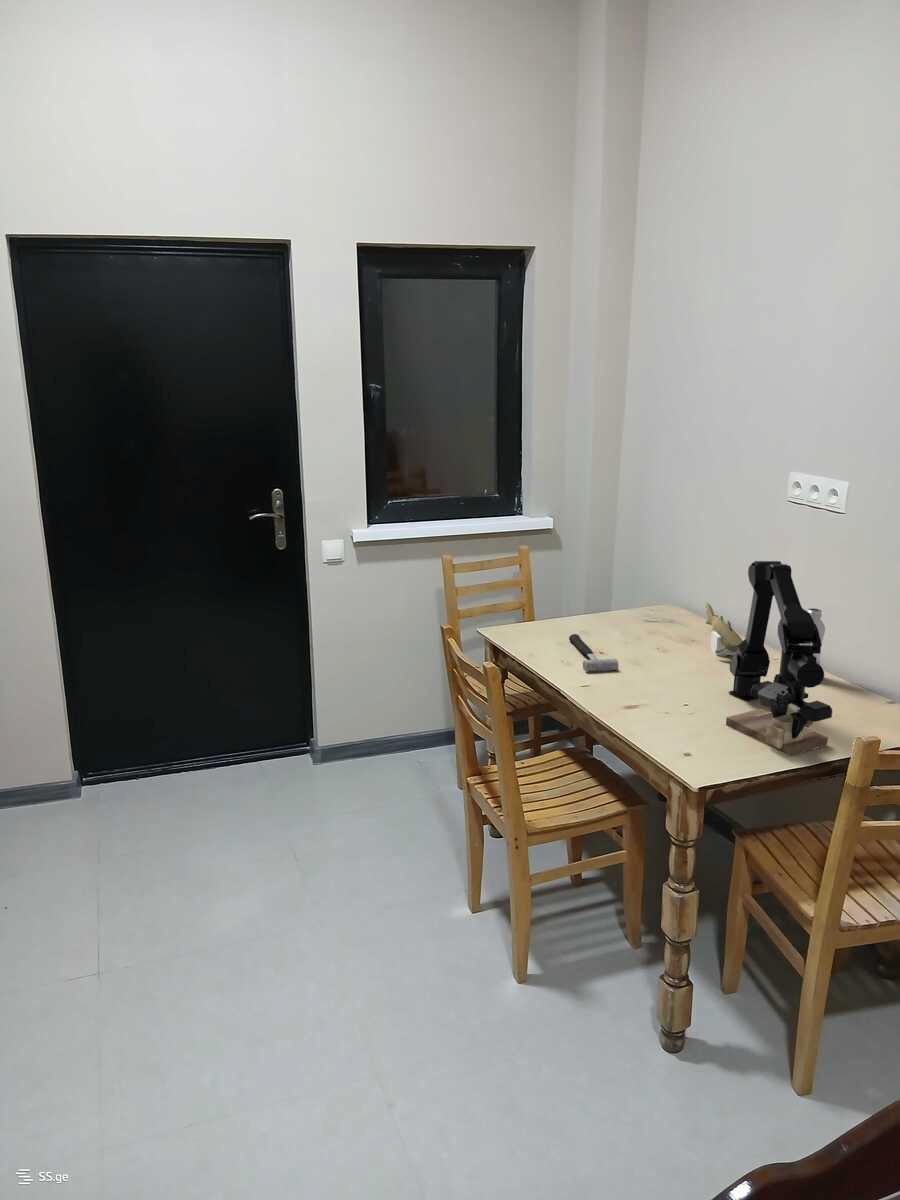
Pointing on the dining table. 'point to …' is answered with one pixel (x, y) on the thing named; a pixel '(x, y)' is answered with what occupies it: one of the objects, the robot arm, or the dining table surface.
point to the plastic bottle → (820, 626)
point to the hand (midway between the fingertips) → (786, 734)
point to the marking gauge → (782, 731)
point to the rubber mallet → (593, 657)
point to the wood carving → (722, 635)
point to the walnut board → (757, 728)
